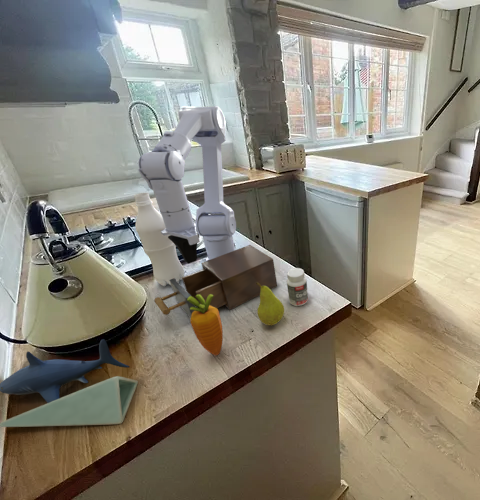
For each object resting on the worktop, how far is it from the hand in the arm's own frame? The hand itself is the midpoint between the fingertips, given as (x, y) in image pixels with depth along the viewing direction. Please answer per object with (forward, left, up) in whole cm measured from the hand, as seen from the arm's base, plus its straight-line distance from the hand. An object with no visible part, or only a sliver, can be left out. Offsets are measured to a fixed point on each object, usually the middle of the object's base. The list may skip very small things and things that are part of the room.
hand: (191, 261), depth 72 cm
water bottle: (-13, -3, -11) cm, 17 cm away
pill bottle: (+20, +16, -11) cm, 28 cm away
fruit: (+22, +7, -11) cm, 25 cm away
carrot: (+22, -6, -11) cm, 25 cm away
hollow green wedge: (+12, -36, -6) cm, 39 cm away
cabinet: (+5, +9, -10) cm, 15 cm away
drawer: (+5, -2, -10) cm, 11 cm away
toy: (+11, -26, -11) cm, 30 cm away
